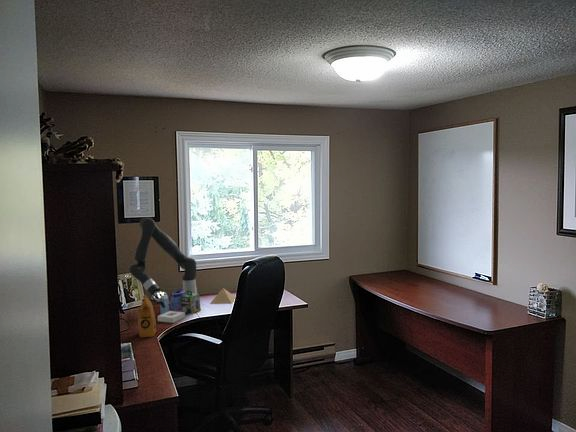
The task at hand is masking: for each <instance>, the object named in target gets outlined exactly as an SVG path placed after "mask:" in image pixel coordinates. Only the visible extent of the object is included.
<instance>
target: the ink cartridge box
mask: <svg viewBox="0 0 576 432" xmlns="http://www.w3.org/2000/svg"><path fill="white" fill-rule="evenodd" d="M183 295H186V292H184V291H183V290H182V289H177V290H176V292H171V293H170V294H169V297H170V298H169V299H170V311H176V312H182V305H181V296H183Z"/></svg>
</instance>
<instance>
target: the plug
mask: <svg viewBox="0 0 576 432" xmlns="http://www.w3.org/2000/svg"><path fill="white" fill-rule="evenodd" d="M167 295H168V294H167ZM167 295H162V296H161V300H162V302H163V303H164V304H165V305H166V306H165V308H163V307H162V306H161V305H160V304H159V305H160V306H159V307H160V308H159V309H160V315H161V314H164V313H166V312H169V311H170V305H169V303H170V300H169V299H170V298H167Z"/></svg>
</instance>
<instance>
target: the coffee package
mask: <svg viewBox="0 0 576 432" xmlns="http://www.w3.org/2000/svg"><path fill="white" fill-rule="evenodd" d="M142 297H143V299H141V305H140V306H139V308H138V309H139V310H138V317H137V323H138V324H137V326H138V333H139V337H140V338H141V339H142V338H150V337H154V336H155V335H156V333H157V323H156V314H155V310H154V306H153V303H152V300H151V299H149V297H148V296H147V294H144V295H143V296H142Z"/></svg>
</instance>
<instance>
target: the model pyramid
mask: <svg viewBox="0 0 576 432" xmlns="http://www.w3.org/2000/svg"><path fill="white" fill-rule="evenodd" d="M235 297H236V296H235V295H234V294H232V293H231V292H229V291H228V290H227V289H225V288H222V289H221V290H220V291H219V292H218V293H217V294H216V296H215V297H214V298H213V299H212V301H211V302H210V303H209V304H210V305H222V304H223V305H225V304H226V305H227V304H229V305H231V304H233V303H234V302H235V301H234V299H235Z"/></svg>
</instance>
